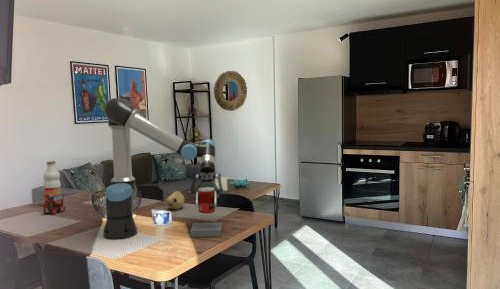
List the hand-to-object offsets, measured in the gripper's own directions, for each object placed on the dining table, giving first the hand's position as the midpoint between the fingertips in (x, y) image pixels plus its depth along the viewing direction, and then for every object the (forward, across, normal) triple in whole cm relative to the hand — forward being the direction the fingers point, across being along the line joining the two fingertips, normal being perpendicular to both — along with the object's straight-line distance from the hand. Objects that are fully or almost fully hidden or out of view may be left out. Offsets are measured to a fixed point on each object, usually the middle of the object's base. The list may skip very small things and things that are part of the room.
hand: (206, 204), depth 171 cm
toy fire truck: (-23, +92, -44) cm, 105 cm away
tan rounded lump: (-24, +22, -45) cm, 56 cm away
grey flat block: (+8, 0, -12) cm, 15 cm away
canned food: (+1, 0, -6) cm, 6 cm away
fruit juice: (-36, +101, -56) cm, 121 cm away
